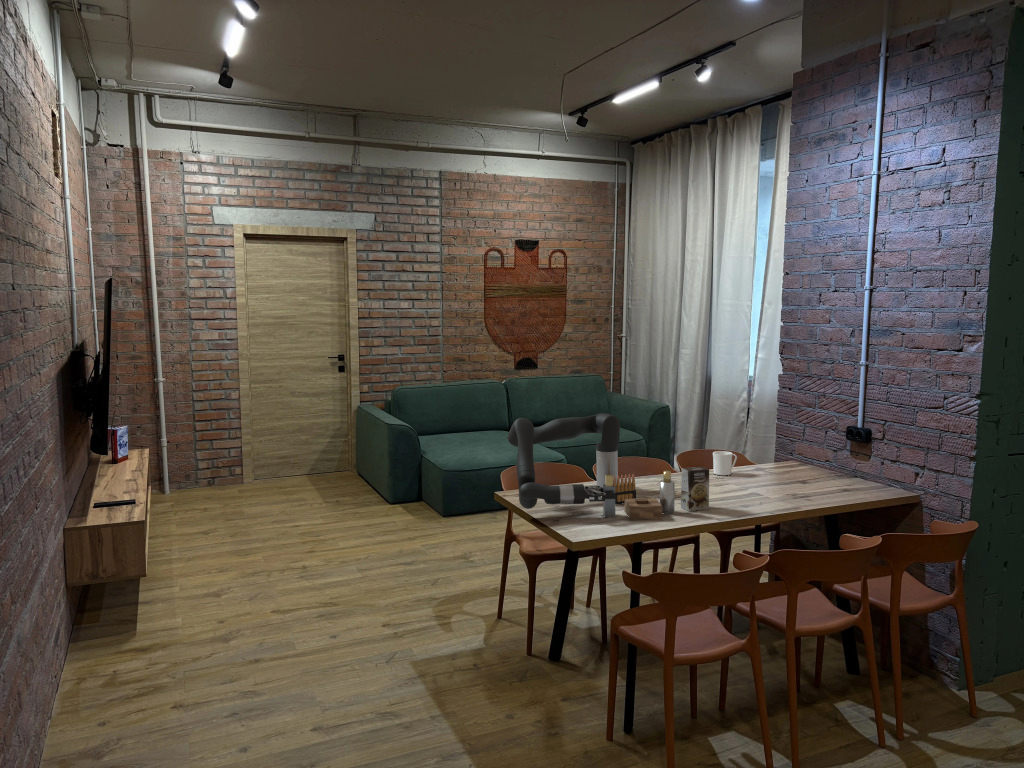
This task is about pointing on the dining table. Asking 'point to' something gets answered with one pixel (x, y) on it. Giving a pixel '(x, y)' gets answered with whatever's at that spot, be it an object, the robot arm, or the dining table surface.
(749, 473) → the dining table surface
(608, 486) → the square bit
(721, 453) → the mug
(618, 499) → the ammunition clip
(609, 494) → the robot arm
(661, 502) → the silver bottle
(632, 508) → the socket block
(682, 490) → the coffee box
